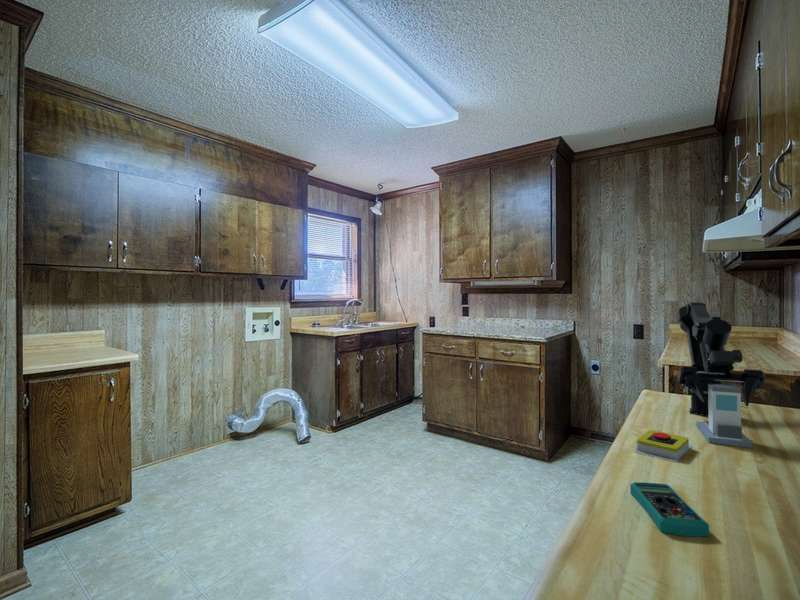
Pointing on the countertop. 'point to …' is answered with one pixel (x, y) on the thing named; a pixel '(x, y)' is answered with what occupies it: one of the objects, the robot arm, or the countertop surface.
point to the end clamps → (729, 431)
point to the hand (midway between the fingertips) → (725, 403)
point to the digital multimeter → (669, 510)
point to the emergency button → (662, 445)
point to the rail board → (713, 439)
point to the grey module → (724, 405)
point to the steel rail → (722, 437)
